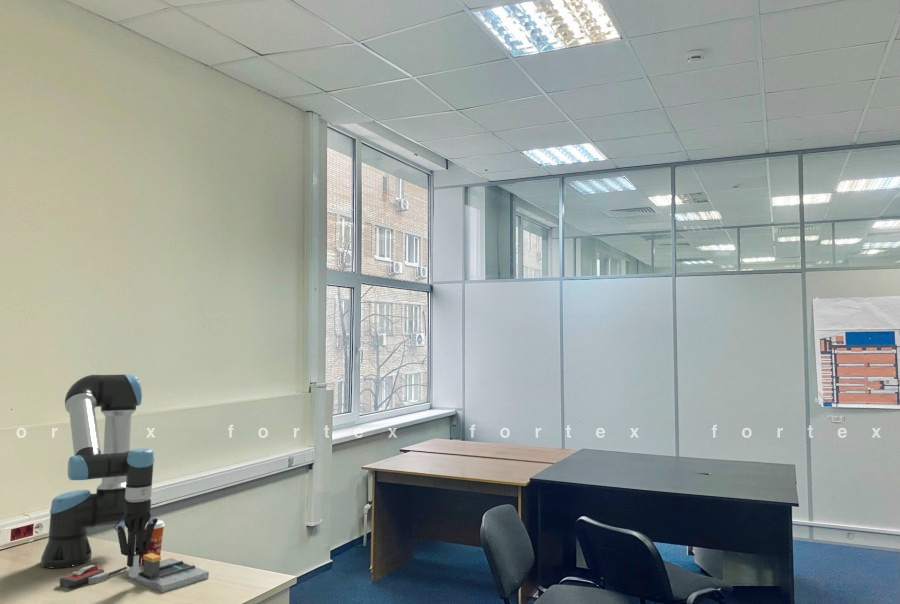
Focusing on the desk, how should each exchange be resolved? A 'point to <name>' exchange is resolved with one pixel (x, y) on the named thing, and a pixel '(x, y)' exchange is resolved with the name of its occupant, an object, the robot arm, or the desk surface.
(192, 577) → the console board
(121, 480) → the robot arm
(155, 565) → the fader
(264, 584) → the desk surface
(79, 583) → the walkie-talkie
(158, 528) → the paper cup
